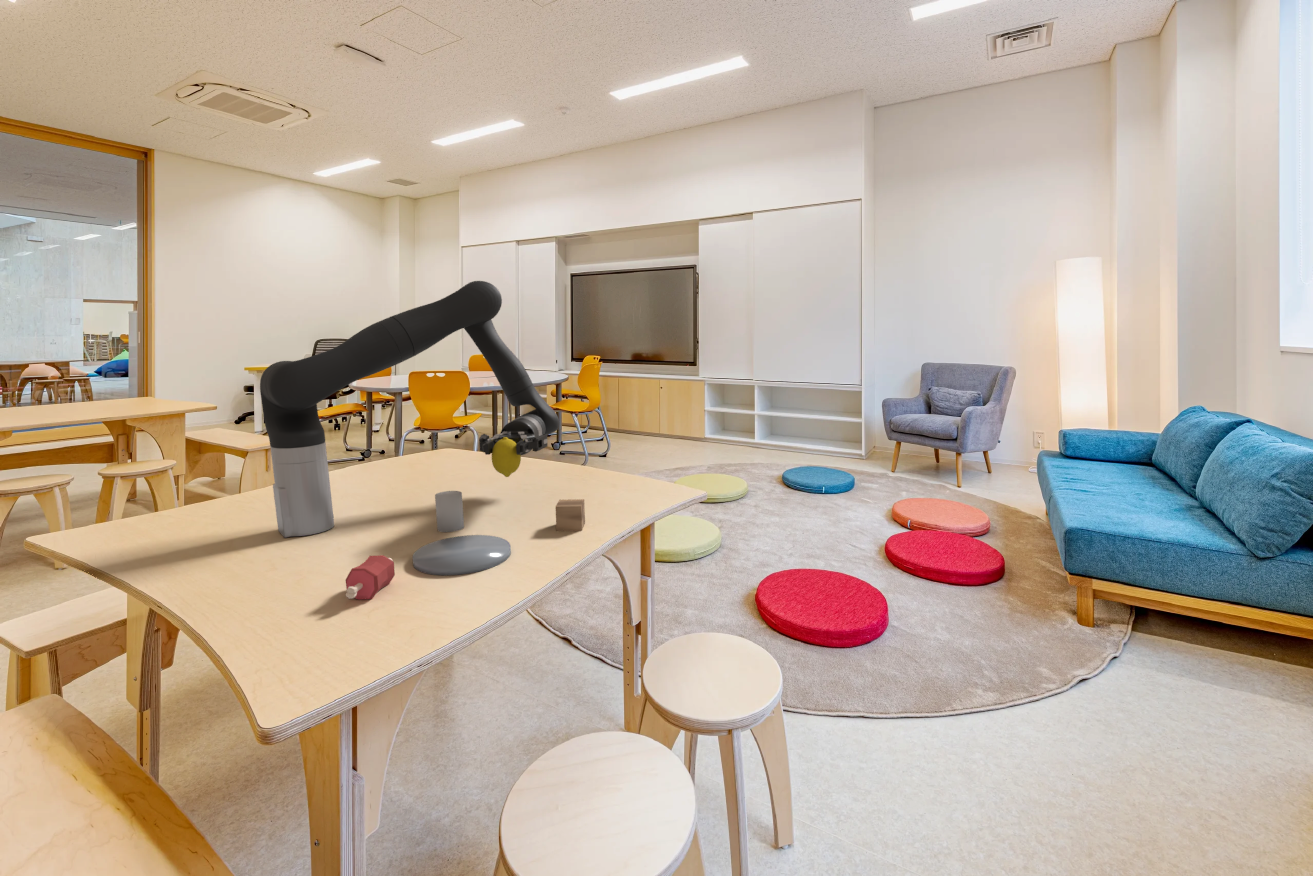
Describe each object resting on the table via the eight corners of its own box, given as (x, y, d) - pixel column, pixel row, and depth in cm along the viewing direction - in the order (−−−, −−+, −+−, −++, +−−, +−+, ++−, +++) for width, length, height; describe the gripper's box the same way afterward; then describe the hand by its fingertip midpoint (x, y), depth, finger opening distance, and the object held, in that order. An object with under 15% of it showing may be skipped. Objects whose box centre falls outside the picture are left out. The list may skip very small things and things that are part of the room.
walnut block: (560, 523, 120) (559, 499, 119) (585, 523, 120) (584, 499, 119) (556, 531, 115) (555, 506, 114) (582, 531, 115) (581, 506, 114)
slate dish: (435, 583, 90) (435, 576, 90) (399, 556, 102) (398, 549, 102) (528, 557, 101) (527, 550, 101) (485, 535, 113) (484, 529, 113)
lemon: (525, 474, 118) (523, 434, 117) (516, 480, 113) (514, 439, 111) (498, 473, 119) (496, 434, 117) (488, 480, 113) (485, 439, 112)
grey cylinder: (443, 533, 114) (441, 498, 113) (433, 528, 118) (430, 493, 116) (468, 528, 117) (466, 494, 116) (457, 522, 121) (455, 489, 120)
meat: (371, 571, 94) (377, 543, 93) (401, 580, 94) (408, 551, 93) (328, 605, 82) (335, 573, 81) (363, 614, 82) (369, 582, 81)
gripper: (488, 417, 128) (463, 429, 111) (554, 417, 128) (539, 429, 111) (490, 451, 129) (465, 468, 113) (555, 451, 129) (540, 468, 113)
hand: (502, 449), depth 112 cm, fingers closed on lemon, 5 cm apart
